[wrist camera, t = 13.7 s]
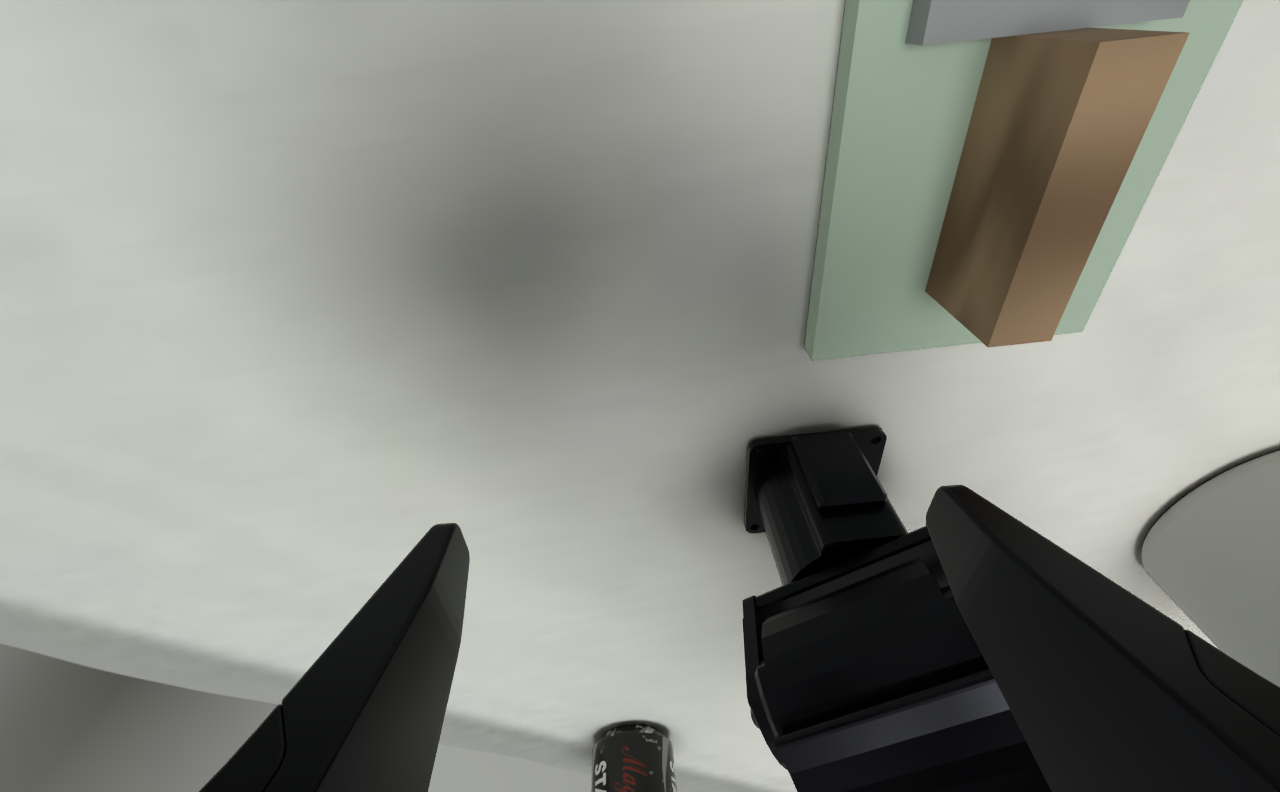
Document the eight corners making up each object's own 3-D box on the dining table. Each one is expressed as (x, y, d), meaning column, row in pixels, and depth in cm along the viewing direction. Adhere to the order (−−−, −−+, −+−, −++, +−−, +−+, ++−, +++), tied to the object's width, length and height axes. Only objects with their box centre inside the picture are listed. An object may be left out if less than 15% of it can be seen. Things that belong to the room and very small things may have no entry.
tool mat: (1064, 319, 22) (1082, 331, 21) (804, 347, 22) (811, 360, 21) (1403, -424, 11) (1464, -456, 10) (889, -365, 11) (911, -393, 10)
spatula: (1044, 278, 20) (1130, 332, 16) (858, 298, 20) (908, 355, 16) (1291, -328, 11) (1565, -458, 8) (966, -292, 11) (1110, -409, 8)
